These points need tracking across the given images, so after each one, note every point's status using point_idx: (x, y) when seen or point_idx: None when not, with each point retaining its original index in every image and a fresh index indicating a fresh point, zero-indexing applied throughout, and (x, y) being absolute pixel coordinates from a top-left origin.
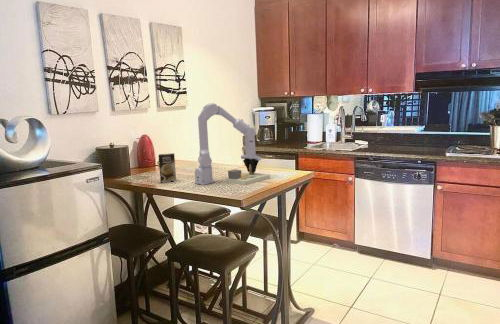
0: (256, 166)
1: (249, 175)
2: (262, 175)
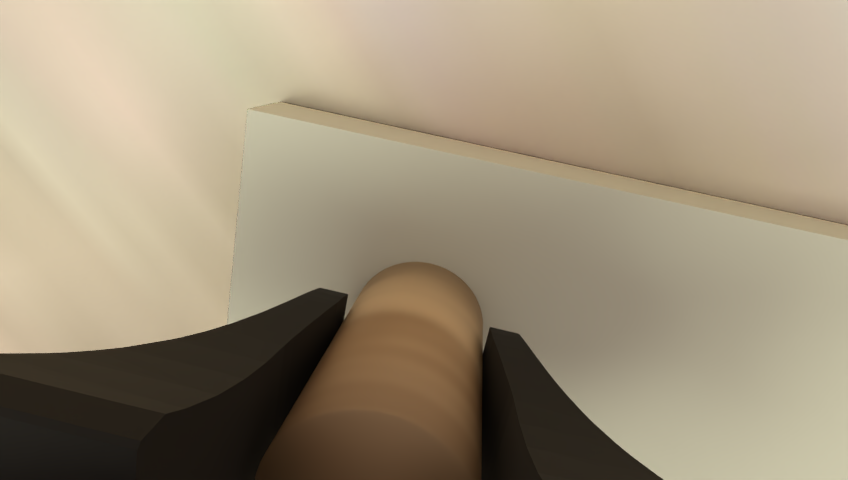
0: (579, 413)
1: None
2: (775, 386)
